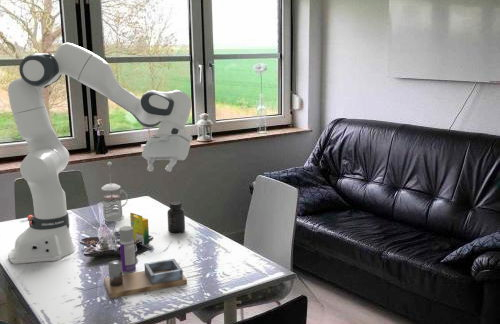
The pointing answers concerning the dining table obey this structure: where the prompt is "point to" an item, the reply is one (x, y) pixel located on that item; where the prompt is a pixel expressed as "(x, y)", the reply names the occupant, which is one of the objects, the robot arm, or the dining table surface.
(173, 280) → the wooden board
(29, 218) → the robot arm
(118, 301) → the dining table surface
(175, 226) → the supplement bottle
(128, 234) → the container
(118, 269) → the metal post
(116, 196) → the french press
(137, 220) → the crayon box
